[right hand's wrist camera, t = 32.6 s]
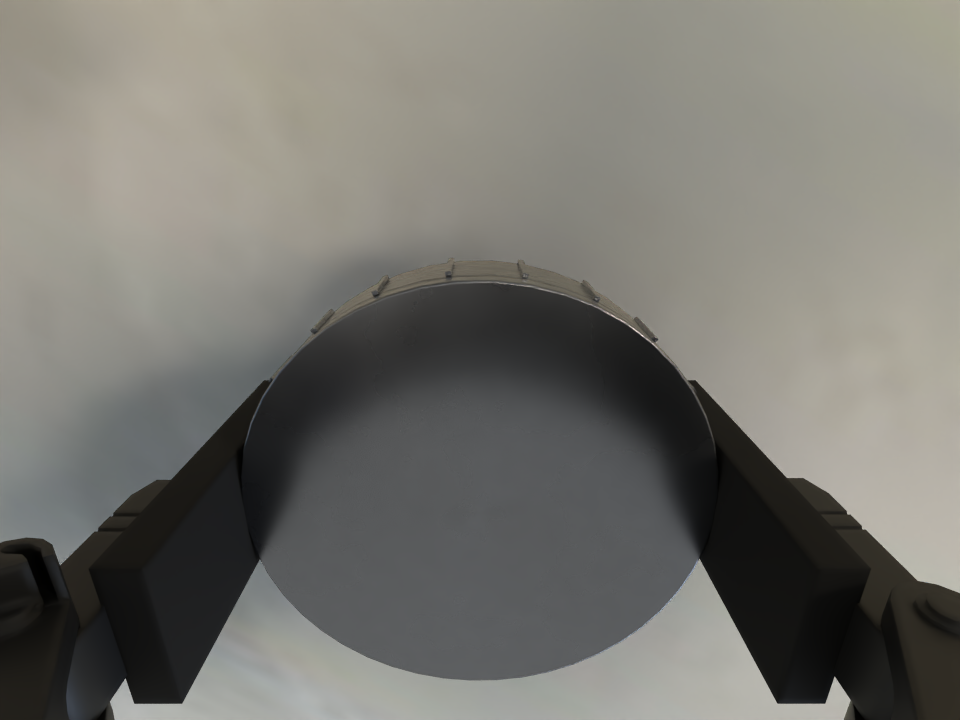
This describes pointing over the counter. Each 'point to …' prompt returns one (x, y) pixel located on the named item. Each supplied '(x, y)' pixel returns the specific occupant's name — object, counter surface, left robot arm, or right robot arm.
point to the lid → (479, 473)
